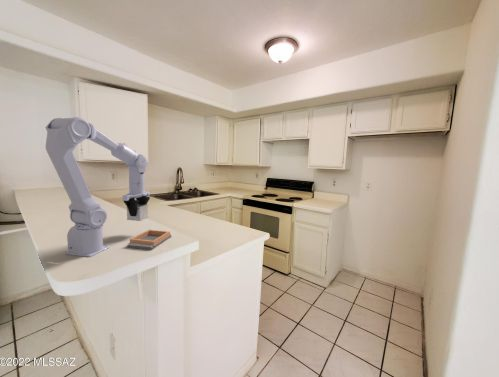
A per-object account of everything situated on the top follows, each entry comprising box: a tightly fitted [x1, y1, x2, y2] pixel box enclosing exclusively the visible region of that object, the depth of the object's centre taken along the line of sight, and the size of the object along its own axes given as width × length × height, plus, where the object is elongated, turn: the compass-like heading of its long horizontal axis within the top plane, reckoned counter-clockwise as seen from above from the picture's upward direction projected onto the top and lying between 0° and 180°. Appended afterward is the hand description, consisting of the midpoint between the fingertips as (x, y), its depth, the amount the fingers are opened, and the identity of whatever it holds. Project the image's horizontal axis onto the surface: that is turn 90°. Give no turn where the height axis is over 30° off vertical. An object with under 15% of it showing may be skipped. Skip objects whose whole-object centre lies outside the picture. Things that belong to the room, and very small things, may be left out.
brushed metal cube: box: [126, 204, 149, 222], centre depth 88 cm, size 6×5×6 cm
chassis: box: [127, 229, 172, 251], centre depth 82 cm, size 10×14×3 cm
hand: (137, 214), depth 88 cm, fingers closed on brushed metal cube, 5 cm apart
